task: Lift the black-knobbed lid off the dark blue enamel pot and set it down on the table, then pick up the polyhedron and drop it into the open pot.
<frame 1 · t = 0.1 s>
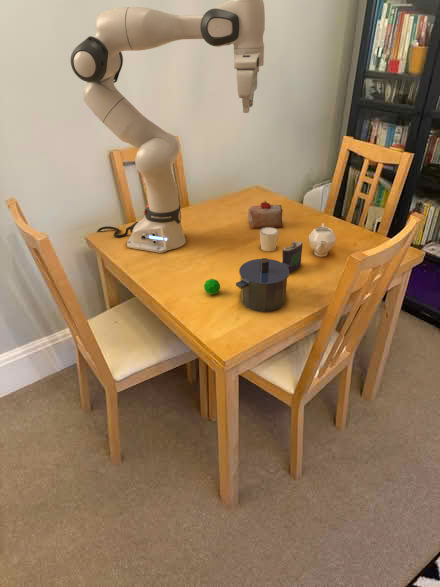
hand: (248, 109, 131), 48 cm above the table, tool pointing down, fingers open, 8 cm apart
pot: (263, 298, 128), on the table
pot lid: (264, 272, 123), point 9 cm above the table, touching pot
tan cup: (268, 248, 157), on the table
flask: (291, 270, 143), on the table
teapot: (320, 254, 152), on the table
food item: (264, 225, 174), on the table
polyhedron: (212, 293, 132), on the table
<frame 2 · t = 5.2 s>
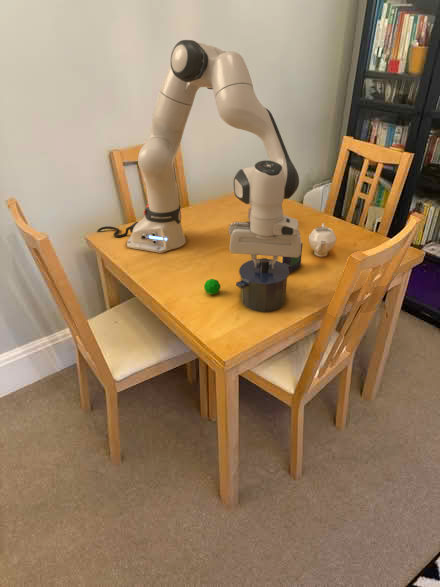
hand: (264, 267, 122), 11 cm above the table, tool pointing down, fingers closed on pot lid, 2 cm apart
pot lid: (264, 272, 123), point 10 cm above the table, touching gripper, pot
everything else where it was.
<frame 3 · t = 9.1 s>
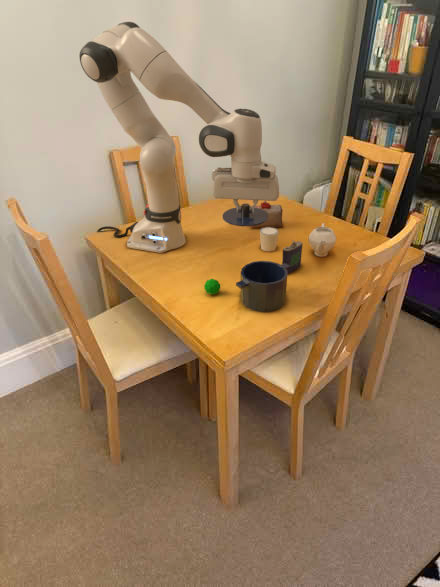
hand: (245, 212, 133), 21 cm above the table, tool pointing down, fingers closed on pot lid, 2 cm apart
pot lid: (245, 216, 133), point 19 cm above the table, touching gripper
everything else where it was.
when the fingers open (2 cm above the table, at t = 13.3 s): pot lid stays where it is, point 1 cm above the table.
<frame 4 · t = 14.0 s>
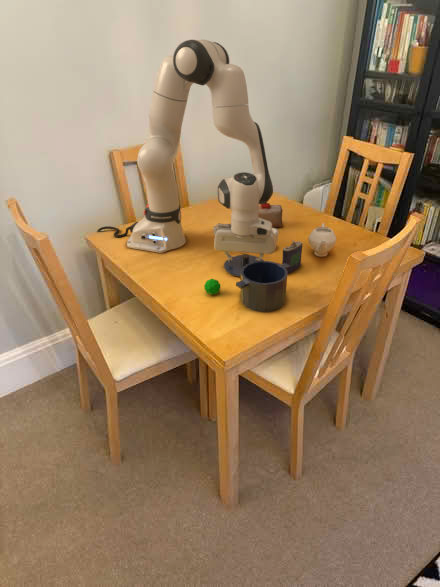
hand: (244, 262, 143), 2 cm above the table, tool pointing down, fingers open, 8 cm apart
pot lid: (245, 266, 144), point 1 cm above the table
everything else where it was.
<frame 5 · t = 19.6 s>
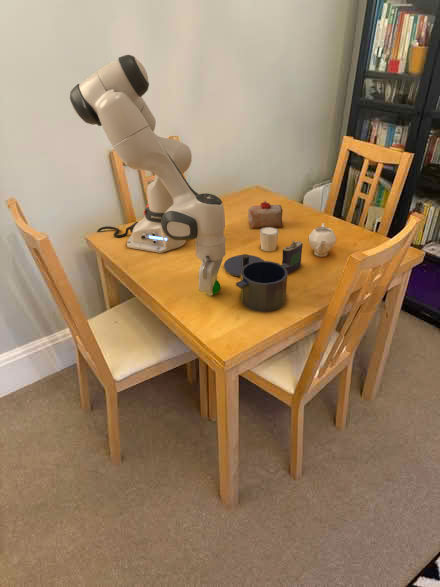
hand: (212, 288, 131), 2 cm above the table, tool pointing down, fingers closed on polyhedron, 5 cm apart
polyhedron: (212, 293, 132), on the table, touching gripper
everything else where it was.
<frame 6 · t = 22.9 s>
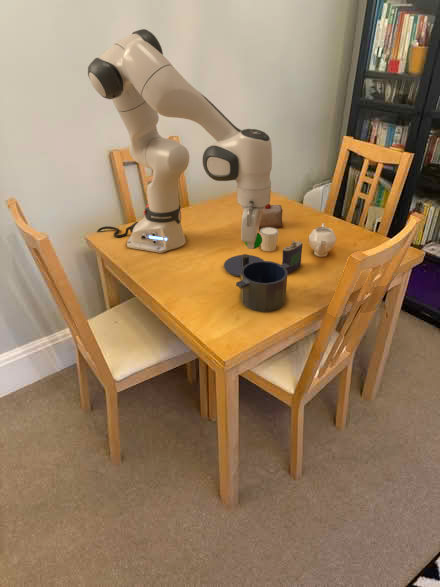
hand: (252, 242, 118), 19 cm above the table, tool pointing down, fingers closed on polyhedron, 5 cm apart
polyhedron: (253, 248, 119), point 17 cm above the table, touching gripper
everything else where it was.
when the fingers open (8 cm above the table, at t = 26.4 s): polyhedron drops 4 cm, resting on pot.
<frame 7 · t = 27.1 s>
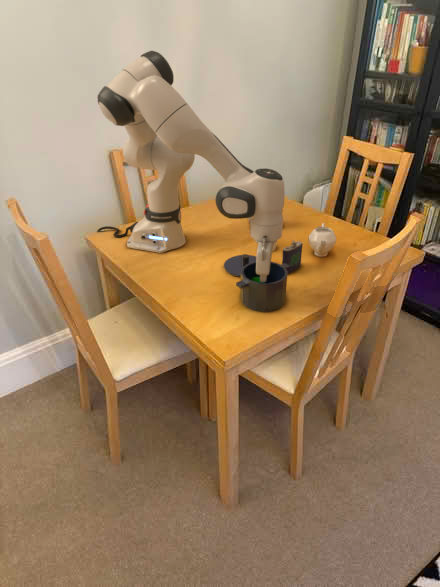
hand: (264, 272, 124), 9 cm above the table, tool pointing down, fingers open, 8 cm apart
polyhedron: (261, 291, 128), point 2 cm above the table, touching pot
everything else where it was.
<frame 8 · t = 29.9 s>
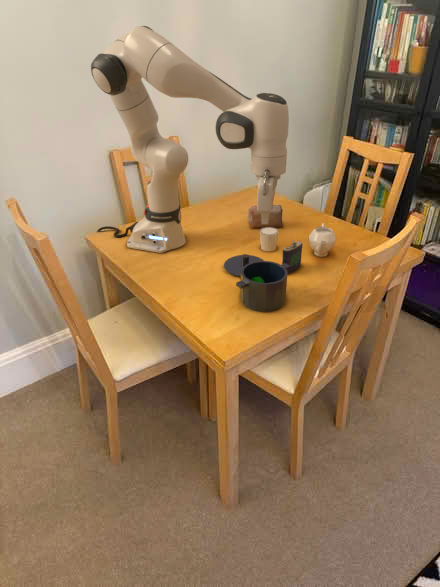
hand: (266, 216, 114), 27 cm above the table, tool pointing down, fingers open, 8 cm apart
nothing on the table moved.
at the end: pot lid inside the target area (0.4 cm from its centre), point 0.6 cm above the table; pot lid tilted 0°; polyhedron inside the target area in the pot (0.9 cm from its centre), point 2.2 cm above the pot's base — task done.
